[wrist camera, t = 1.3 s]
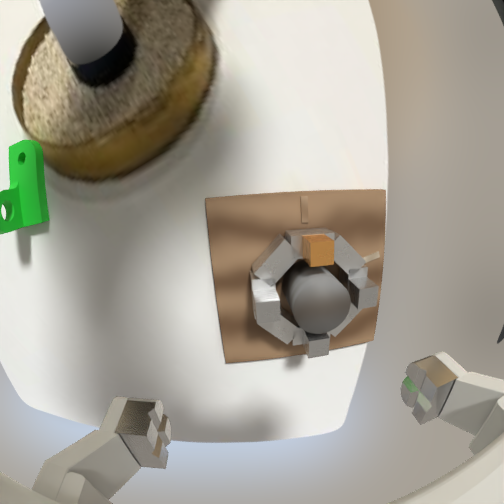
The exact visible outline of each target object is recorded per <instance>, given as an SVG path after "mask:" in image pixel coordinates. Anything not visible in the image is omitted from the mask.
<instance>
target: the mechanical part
mask: <svg viewBox="0 0 504 504" xmlns="http://www.w3.org/2000/svg"><path fill="white" fill-rule="evenodd" d="M25 157H26V159H25ZM9 173H10V188H9V190H3V191H1V192H0V234H4V233H8V232H11V231H14V230H17V229H19V228H22V227H25V226H30V225H34V224H38V223H43V222H45V221H49V213H48V206H47V198H46V189H45V178H44V163H43V151H42V148H41V146H40V144H39V143H38V142H36V141H33V140H22V141H20V142H18V143H16V144H14V145H12V146H10V147H9ZM2 204H3V205H4V207H5V209H6V219H5V220H4V219H3V217H2V214H1V207H2Z"/></svg>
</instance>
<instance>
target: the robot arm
mask: <svg viewBox="0 0 504 504" xmlns="http://www.w3.org/2000/svg"><path fill="white" fill-rule="evenodd" d="M406 375H407V377H406V378H405V379H404V381H403V382H402V385H401V397H402V400H403V401H404V403H405V404H406V405H407V406H409V407H412V414H413V415H414V417H415V418H416V420H417V421H418V422H419V424H423V423H426V422H427V421H430V420H432V419H434V418H436V417H439V418H440V419H442V420H444V421H446V422H448V423H450V424H452V425H454V426H456V427H458V428H460V429H462V430H464V431H466V432H469V433H471V434H473V435H475V437H474V439H473V440H472V442H471V443H470V445H469V448H470V450H471V451H472V452H473V454H474V456H473V457H471V458H470V459H468V460H467V461H466V462H464V463H462V464H461V465H459V466H458V467H456V468H455V469H453V470H452V471H450V472H448V473H447V474H445V475H443V476H442V477H440V478H438V479H437V480H435V481H433V482H431V483H429V484H428V485H426V486H424V487H422V488H420V489H418V490H416V491H414V492H412V493H410V494H408V495H406V496H404V497H401V498H399V499H397V500H394V501H393V502H390V503H387V504H504V380H502V379H498V378H494V377H490V376H486V375H482V374H478V373H474V372H469V373H468V372H467V371H466V370H465V369H463V368H462V367H461V366H460V365H459V364H458V363H457V362H456V361H455V360H453V359H452V358H451V357H450V356H449V355H448V354H447V353H445V352H442V351H441V352H438V353H436V354H433V355H431V356H428V357H425V358H423V359H420V360H417V361H415V362H412V363H410V364H409V365H408V366H407V368H406ZM163 410H164V407H163V404H162V402H161V401H160V400H154V399H141V398H127V397H119V396H116V397H115V398H114V399H113V400H112V402H111V405H110V407H109V409H108V411H107V413H106V416H105V418H104V420H103V422H102V424H101V427H100V429H99V430H94V431H93V432H91V433H90V434H88V435H86V436H85V437H83V438H82V439H80V440H78V441H77V442H75V443H74V444H72V445H71V446H69V447H68V448H66V449H64V450H62V451H61V452H59V453H58V454H56V455H54V456H52V457H51V458H49V459H47V460H46V461H45V462H44V464H43V466H42V468H41V471H40V472H39V475H38V477H37V479H36V481H35V483H34V485H33V488H32V490H31V489H29V488H27V487H25V486H24V485H22V484H20V483H19V482H17V481H15V480H13V479H12V478H10V477H8V476H7V475H5V474H4V473H2V472H0V504H113V503H111V502H110V501H109V499H110V498H111V497H112V496H113V495H114V494H115V493H116V492H117V491H118V490H119V489H120V488H121V487H122V486H123V485H124V484H125V483H126V482H127V481H128V480H129V479H130V478H131V477H132V476H133V475H134V474H135V473H136V472H137V471H138V470H139V469H140V468H141V467H151V468H163V469H165V468H166V464H167V458H168V451H167V450H166V448H165V447H166V446H167V445H168V444H169V443H170V441H171V426H170V421H169V419H168V417H167V416H166V415H164V414H163Z"/></svg>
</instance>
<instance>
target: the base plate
mask: <svg viewBox="0 0 504 504" xmlns="http://www.w3.org/2000/svg"><path fill="white" fill-rule="evenodd" d="M205 202H206V213H207V222H208V232H209V241H210V250H211V259H212V267H213V275H214V283H215V291H216V299H217V306H218V313H219V320H220V327H221V334H222V341H223V347H224V353H225V360H226V363H233V362H244V361H255V360H264V359H272V358H280V357H287V356H294V355H301V354H306V351H305V349H304V347H303V344H300V345H292V342H291V341H290V342H289V343H288V344H286V343H284V342H283V341H281V340H280V339H278V338H277V337H275V336H274V335H272V334H271V333H270V332H268V331H267V330H265V329H264V328H262V327H261V326H259V325H258V324H257V321H256V319H255V318H254V313H253V307H252V294H251V281H250V271H251V270H253V268H252V264H253V263H254V262H255V261H256V259H257V258H258V257H259V256H260V255H261V254H262V253H263V252H264V250H265V249H266V248H267V247H268V246H269V245H270V244H271V243H272V241H273V240H274V239H275V238H276V237H277V236H278V235H279V233H280V234H281V235H282V236H283V237H284V238H285V239H286V236H285V231H286V230H299V229H312V228H327V229H329V230H332V231H334V232H336V233H338V234H339V235H341V236H342V237H343V238H344V239H345V240H346V241H347V242H348V243H349V244H350V245H351V246H352V247H353V248H354V250H355V251H356V252H357V253H358V254H359V255H360V256H361V257H362V258H363V259H364V260H365V261H366V263H365V264H364V265H366V266H367V267H368V272H367V277H368V278H369V279H370V280H371V281H373V282H374V283H375V284H376V285H378V286H379V289H378V298H377V306H374V307H369V308H364V309H362V310H361V311H360V312H359V313H358V314H357V315H356V316H355V317H354V318H353V319H352V320H351V322H350V323H349V324H348V325H347V326H346V327H345V328H344V329H343V330H342V331H341V332H340V333H339V334H338V335H337V336H336V337H335V336H333V335H332V334H330V343H329V350H330V349H336V348H341V347H346V346H351V345H355V344H360V343H364V342H369V341H373V340H374V334H375V328H376V321H377V315H378V307H379V300H380V291H381V282H382V272H383V260H384V245H385V219H386V190H382V189H367V190H320V191H297V192H279V193H263V194H249V195H237V196H225V197H215V198H206V199H205ZM275 285H276V291H277V294H278V296H279V299H280V307H282V308H283V309H284V310H286V311H287V312H288V313H290V314H291V315H292V316H294V317H295V319H296V321H297V323H298V325H299V326H300V327H301V328H302V329H303V330H305V331H307V332H309V333H314V334H321V333H326V332H329V331H331V330H333V329H335V328H336V327H338V326H339V325H340V324H341V323H342V322H343V321H344V320H345V318H346V317H347V315H348V313H349V310H350V305H351V300H350V295H349V293H348V291H347V289H346V288H345V287H344V286H343V285H342V284H341V283H340V282H339V266H338V265H337V264H336V263H335V262H334V265H326V266H316V267H310V266H309V265H308V263H307V262H306V261H305V260H304V259H297V260H296V261H295V262H294V264H293V265H292V266H291V267H290V268H289V269H288V270H287V271H286V272H285V273H284V275H283V276H282V277H281V278H280V279H279V280H278V281H277V282H276V283H275Z"/></svg>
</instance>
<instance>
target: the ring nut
mask: <svg viewBox="0 0 504 504" xmlns="http://www.w3.org/2000/svg"><path fill="white" fill-rule="evenodd" d="M285 236H286V239H285V238H284V237H283V236H282V235H281V234H280V233H279V235H278V236H277V237H276V238H275V239H274V240H273V241H272V243H271V244H270V245H269V246H268V247H267V248H266V249H265V250H264V252H263V253H262V254H261V255H260V256H259V257H258V258H257V259H256V261H255V262H254V263H253V264H252V268H253V270H251V271H250V281H251V294H252V307H253V313H254V318H255V319H256V321H257V324H258V325H259V326H261V327H262V328H264V329H265V330H267V331H268V332H270V333H271V334H272V335H274V336H275V337H277V338H278V339H280V340H281V341H283V342H284V343H286V344H288V343H289V342H290V341H291V342H292V345H300V344H303V347H304V349H305V351H306V354H307V356H308V358H313V357H319V356H325V355H328V354H329V343H330V334H332V335H333V336H335V337H336V336H337V335H338V334H339V333H340V332H341V331H342V330H343V329H344V328H345V327H346V326H347V325H348V324H349V323H350V322H351V320H352V319H353V318H354V317H355V316H356V315H357V314H358V313H359V312H360V311H361V310H362V309H364V308H369V307H374V306H377V298H378V289H379V286H378V285H376V284H375V283H374V282H373V281H371V280H370V279H369V278H368V277H367V272H368V267H367V266H366V265H364V264H365V263H366V261H365V260H364V259H363V258H362V257H361V256H360V255H359V254H358V253H357V252H356V251H355V250H354V248H353V247H352V246H351V245H350V244H349V243H348V242H347V241H346V240H345V239H344V238H343V237H342V236H341V235H339V234H338V233H336V232H334V231H332V230H329V229H327V228H312V229H299V230H286V231H285ZM297 259H304V260H305V261H306V262H307V263H308V265H309V266H310V267H316V266H326V265H334V262H335V263H336V264H337V265H338V266H339V282H340V283H341V284H342V285H343V286H344V287H345V288H346V289H347V291H348V293H349V295H350V300H351V305H350V310H349V313H348V315H347V317H346V318H345V320H344V321H343V322H342V323H341V324H340V325H339V326H338V327H336V328H335V329H333V330H331V331H329V332H326V333H321V334H314V333H309V332H307V331H305V330H303V329H302V328H301V327H300V326H299V325H298V323H297V321H296V319H295V317H294V316H292V315H291V314H290V313H288V312H287V311H286V310H284V309H283V308H282V307H280V299H279V296H278V294H277V291H276V285H275V283H276V282H277V281H278V280H279V279H280V278H281V277H282V276H283V275H284V273H285V272H286V271H287V270H288V269H289V268H290V267H291V266H292V265H293V264H294V262H295V261H296V260H297Z"/></svg>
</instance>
